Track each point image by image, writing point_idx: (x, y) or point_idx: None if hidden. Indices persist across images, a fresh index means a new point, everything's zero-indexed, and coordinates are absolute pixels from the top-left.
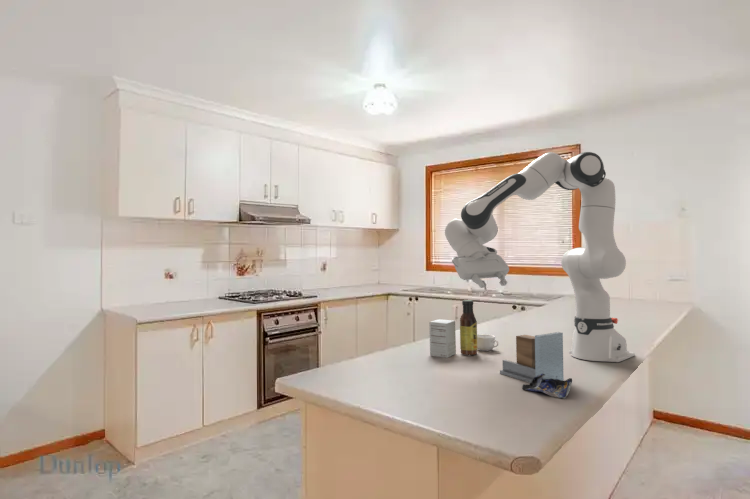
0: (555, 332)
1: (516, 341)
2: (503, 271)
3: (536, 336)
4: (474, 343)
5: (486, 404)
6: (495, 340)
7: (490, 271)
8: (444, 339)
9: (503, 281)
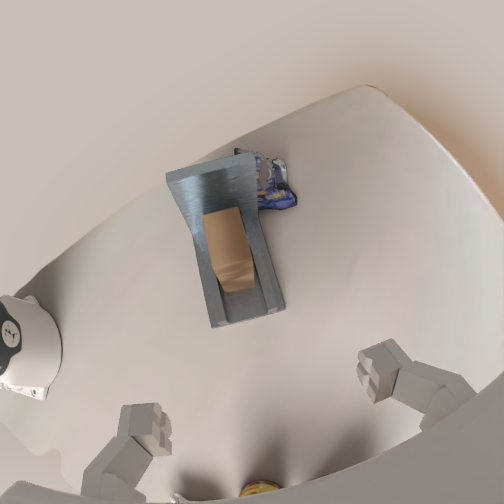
0: (178, 179)
1: (252, 262)
2: (72, 494)
3: (254, 158)
4: (254, 492)
5: (375, 169)
6: (175, 500)
7: (264, 494)
8: None
9: (154, 410)
